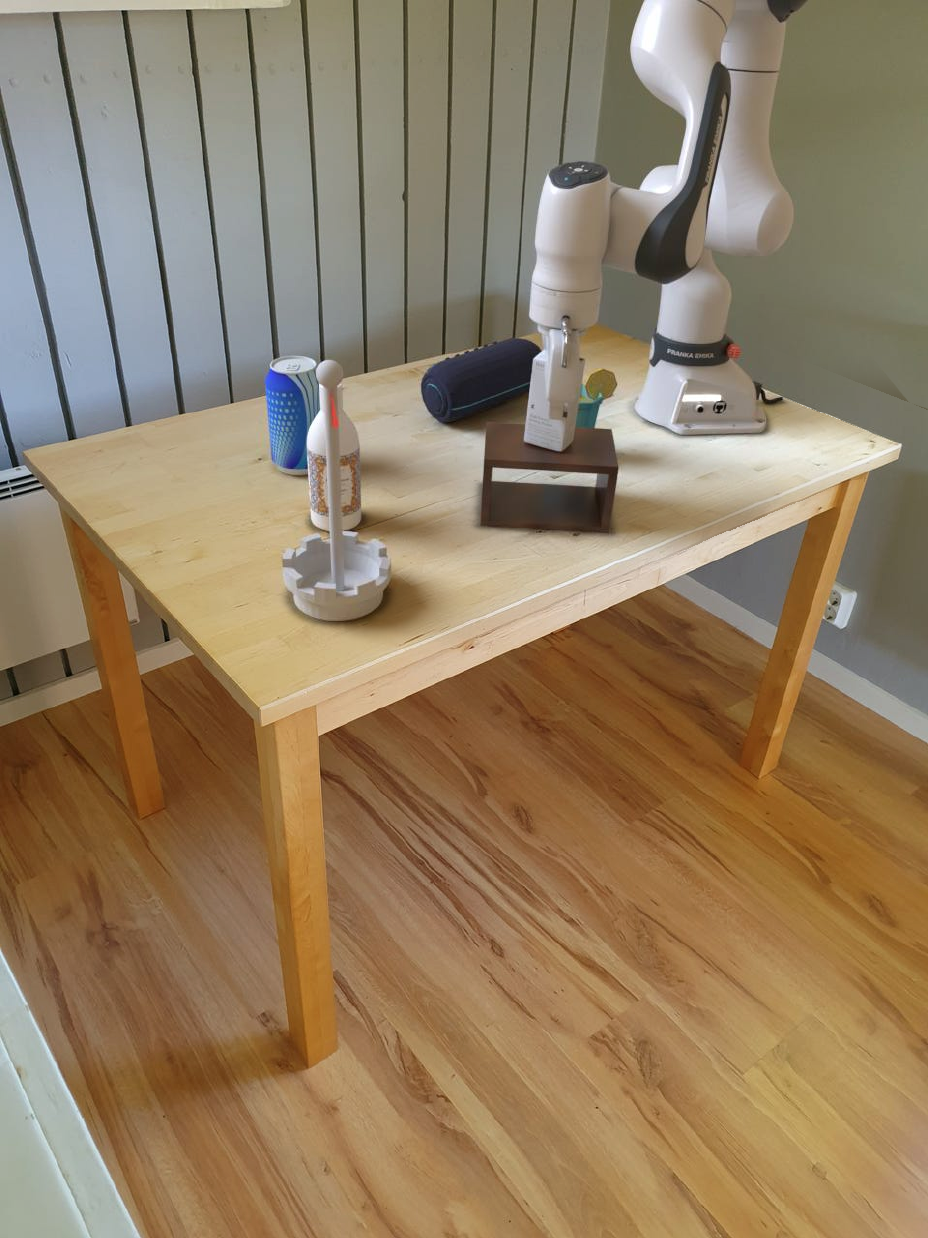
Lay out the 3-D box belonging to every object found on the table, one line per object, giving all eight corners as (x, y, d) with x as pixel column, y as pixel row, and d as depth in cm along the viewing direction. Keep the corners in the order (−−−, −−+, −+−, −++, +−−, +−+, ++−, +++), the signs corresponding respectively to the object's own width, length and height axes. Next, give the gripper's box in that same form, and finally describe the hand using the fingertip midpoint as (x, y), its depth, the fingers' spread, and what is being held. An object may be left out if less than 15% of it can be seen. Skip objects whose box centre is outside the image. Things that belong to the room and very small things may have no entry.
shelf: (602, 491, 144) (611, 428, 138) (609, 532, 134) (618, 467, 128) (482, 484, 144) (486, 421, 138) (480, 525, 134) (484, 459, 128)
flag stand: (278, 572, 122) (259, 342, 105) (379, 561, 126) (376, 335, 108) (292, 632, 112) (273, 388, 95) (401, 618, 115) (403, 380, 98)
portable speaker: (508, 379, 178) (512, 326, 172) (549, 396, 172) (555, 341, 166) (409, 416, 163) (409, 359, 157) (451, 435, 157) (453, 377, 151)
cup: (542, 475, 147) (551, 382, 138) (516, 454, 152) (523, 363, 144) (616, 458, 153) (629, 368, 144) (588, 439, 158) (599, 350, 149)
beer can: (260, 464, 146) (251, 362, 137) (303, 447, 151) (297, 348, 142) (296, 483, 142) (288, 379, 132) (339, 465, 147) (335, 364, 137)
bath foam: (313, 535, 130) (305, 395, 118) (308, 510, 136) (300, 374, 124) (364, 531, 131) (361, 393, 120) (357, 506, 137) (354, 371, 125)
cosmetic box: (522, 442, 132) (529, 357, 125) (535, 430, 136) (543, 347, 128) (563, 453, 130) (573, 367, 123) (576, 441, 133) (586, 356, 126)
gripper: (594, 334, 113) (581, 441, 121) (584, 282, 130) (573, 379, 138) (541, 331, 113) (531, 439, 121) (538, 279, 130) (530, 377, 138)
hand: (554, 407), depth 130 cm, fingers closed on cosmetic box, 5 cm apart
